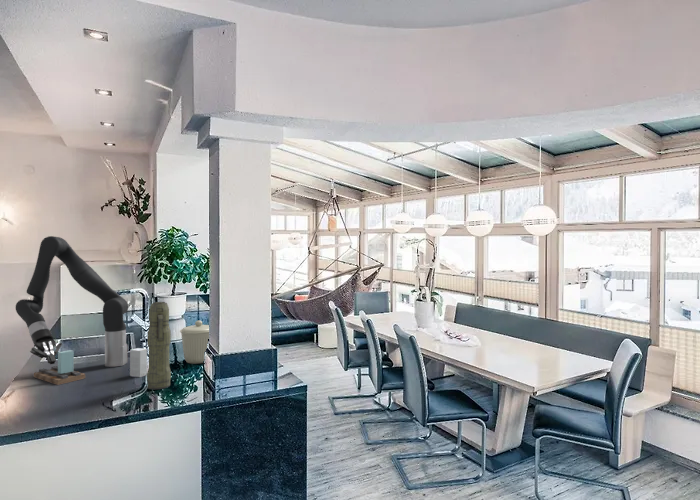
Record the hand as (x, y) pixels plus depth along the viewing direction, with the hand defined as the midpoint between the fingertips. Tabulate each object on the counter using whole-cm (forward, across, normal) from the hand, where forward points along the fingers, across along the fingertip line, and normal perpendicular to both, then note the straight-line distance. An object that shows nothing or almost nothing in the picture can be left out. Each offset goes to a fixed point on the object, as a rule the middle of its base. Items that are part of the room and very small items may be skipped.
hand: (53, 362), depth 192 cm
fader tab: (+11, 0, -5) cm, 12 cm away
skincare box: (+28, +20, -19) cm, 39 cm away
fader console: (+8, 0, 0) cm, 8 cm away
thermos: (+44, +16, -35) cm, 58 cm away
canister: (+30, +51, -21) cm, 63 cm away
